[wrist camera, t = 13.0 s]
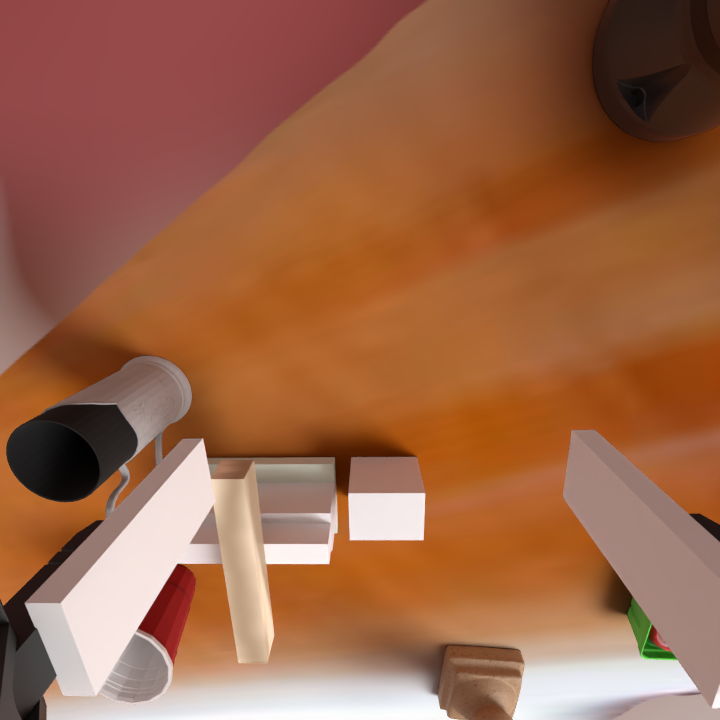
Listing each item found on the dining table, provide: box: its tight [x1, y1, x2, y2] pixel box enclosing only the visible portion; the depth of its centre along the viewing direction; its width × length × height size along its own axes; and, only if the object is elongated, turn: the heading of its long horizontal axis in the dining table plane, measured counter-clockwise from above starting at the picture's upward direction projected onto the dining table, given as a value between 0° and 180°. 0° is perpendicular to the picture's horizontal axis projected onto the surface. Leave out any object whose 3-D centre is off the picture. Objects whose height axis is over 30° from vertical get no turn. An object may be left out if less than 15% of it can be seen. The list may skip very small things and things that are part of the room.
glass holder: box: [6, 355, 192, 518], centre depth 38 cm, size 9×14×15 cm, turn 19°
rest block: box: [348, 457, 425, 540], centre depth 44 cm, size 8×6×7 cm
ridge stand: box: [177, 457, 338, 564], centre depth 44 cm, size 16×10×10 cm, turn 91°
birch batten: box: [211, 460, 274, 663], centre depth 38 cm, size 3×22×3 cm, turn 1°
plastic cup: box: [98, 564, 196, 705], centre depth 47 cm, size 11×11×12 cm
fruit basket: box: [627, 597, 677, 660], centre depth 47 cm, size 11×9×11 cm
